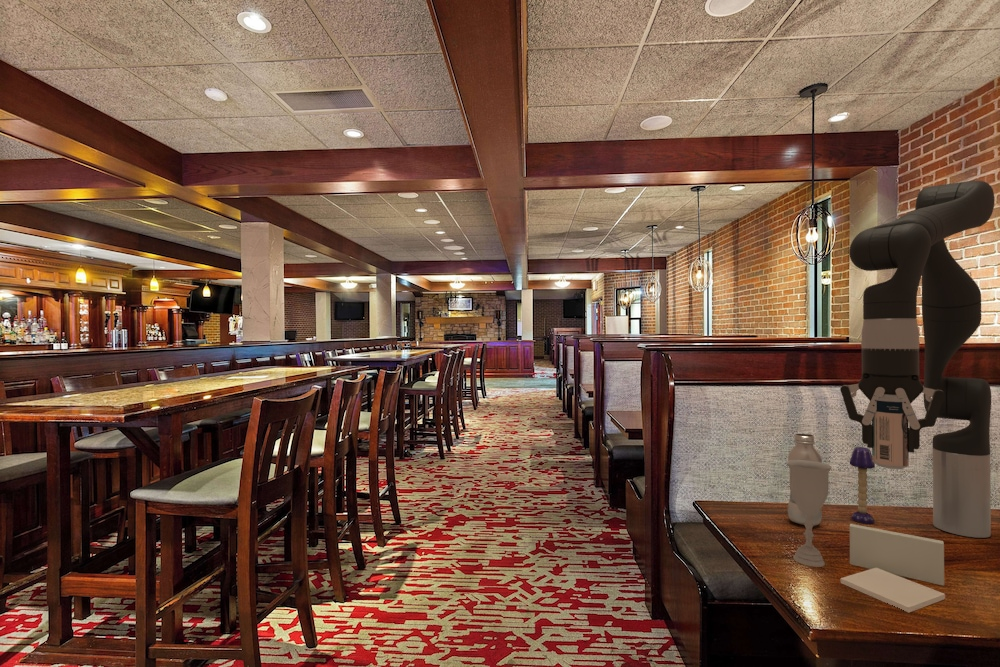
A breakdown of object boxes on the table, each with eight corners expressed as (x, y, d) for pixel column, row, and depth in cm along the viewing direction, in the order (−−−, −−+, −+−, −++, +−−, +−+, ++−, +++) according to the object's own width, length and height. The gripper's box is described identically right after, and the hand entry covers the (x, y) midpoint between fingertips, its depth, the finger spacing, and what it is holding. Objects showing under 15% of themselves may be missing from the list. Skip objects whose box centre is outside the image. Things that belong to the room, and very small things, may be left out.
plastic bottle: (782, 518, 115) (782, 431, 115) (813, 519, 114) (813, 432, 114) (794, 528, 108) (794, 437, 109) (828, 530, 108) (827, 438, 108)
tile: (876, 572, 88) (876, 567, 88) (945, 599, 79) (945, 593, 79) (840, 582, 84) (840, 578, 84) (908, 612, 75) (908, 607, 75)
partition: (849, 564, 91) (849, 526, 91) (850, 561, 93) (850, 523, 93) (944, 585, 83) (943, 544, 83) (943, 582, 85) (943, 541, 85)
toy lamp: (879, 525, 110) (879, 450, 111) (856, 524, 111) (856, 449, 111) (867, 517, 115) (867, 446, 115) (845, 516, 116) (845, 445, 116)
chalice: (790, 565, 91) (790, 467, 91) (783, 550, 97) (782, 458, 97) (837, 571, 88) (836, 470, 89) (826, 556, 95) (826, 461, 95)
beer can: (915, 470, 79) (915, 395, 79) (881, 469, 80) (881, 394, 80) (898, 463, 84) (897, 392, 84) (866, 461, 85) (865, 391, 85)
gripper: (836, 346, 84) (836, 447, 83) (950, 347, 75) (951, 460, 75) (838, 346, 90) (839, 440, 89) (944, 346, 81) (945, 451, 81)
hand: (890, 448), depth 82 cm, fingers closed on beer can, 4 cm apart
